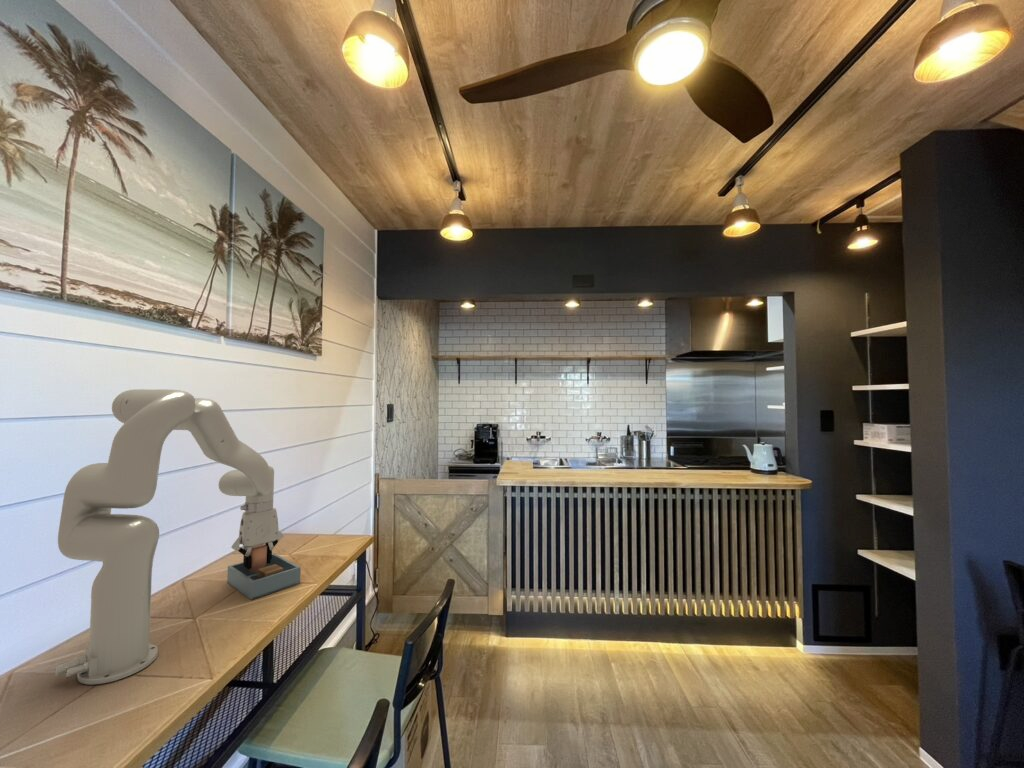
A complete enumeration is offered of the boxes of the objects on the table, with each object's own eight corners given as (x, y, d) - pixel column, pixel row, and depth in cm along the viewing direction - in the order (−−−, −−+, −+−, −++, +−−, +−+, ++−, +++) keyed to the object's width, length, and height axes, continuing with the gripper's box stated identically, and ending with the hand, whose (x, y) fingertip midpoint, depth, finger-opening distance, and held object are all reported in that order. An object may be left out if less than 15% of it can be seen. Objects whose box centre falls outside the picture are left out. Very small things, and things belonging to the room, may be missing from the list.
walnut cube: (257, 586, 127) (258, 569, 127) (275, 580, 131) (275, 563, 131) (265, 590, 124) (265, 573, 124) (282, 584, 128) (283, 568, 128)
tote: (251, 600, 119) (252, 582, 119) (227, 582, 130) (227, 566, 130) (300, 583, 130) (300, 567, 130) (274, 568, 141) (274, 553, 141)
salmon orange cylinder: (247, 569, 133) (247, 546, 134) (265, 565, 136) (266, 543, 137) (248, 574, 129) (249, 550, 130) (267, 570, 132) (268, 547, 133)
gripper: (233, 514, 124) (231, 577, 124) (292, 503, 138) (291, 560, 137) (223, 509, 129) (221, 570, 128) (282, 499, 142) (280, 554, 142)
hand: (257, 564), depth 133 cm, fingers closed on salmon orange cylinder, 4 cm apart
